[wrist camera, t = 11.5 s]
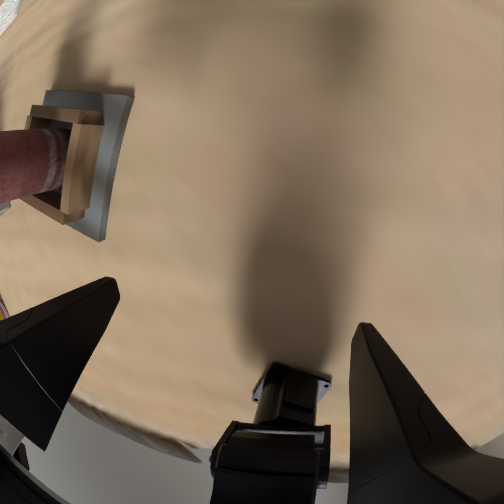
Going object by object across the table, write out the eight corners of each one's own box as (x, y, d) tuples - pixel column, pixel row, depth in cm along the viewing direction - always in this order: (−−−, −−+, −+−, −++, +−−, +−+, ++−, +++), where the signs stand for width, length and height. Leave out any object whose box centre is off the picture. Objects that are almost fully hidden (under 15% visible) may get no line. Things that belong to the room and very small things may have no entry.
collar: (105, 239, 25) (78, 252, 21) (34, 200, 26) (11, 207, 22) (134, 97, 19) (105, 90, 16) (52, 90, 20) (27, 88, 17)
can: (76, 196, 23) (-43, 235, 10) (45, 175, 23) (-59, 202, 10) (91, 138, 20) (-43, 151, 7) (57, 123, 20) (-55, 132, 8)
